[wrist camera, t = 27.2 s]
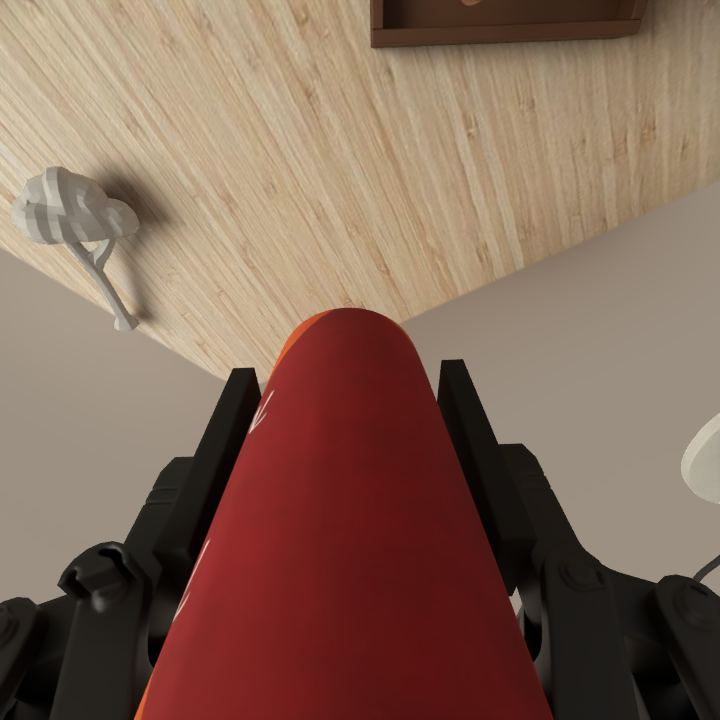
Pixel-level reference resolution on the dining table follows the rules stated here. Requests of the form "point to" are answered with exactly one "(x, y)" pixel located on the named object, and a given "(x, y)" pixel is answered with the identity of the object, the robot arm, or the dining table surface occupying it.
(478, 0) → the mug
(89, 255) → the grey tree figurine
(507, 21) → the walnut tray
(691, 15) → the dining table surface
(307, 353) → the paper cup
